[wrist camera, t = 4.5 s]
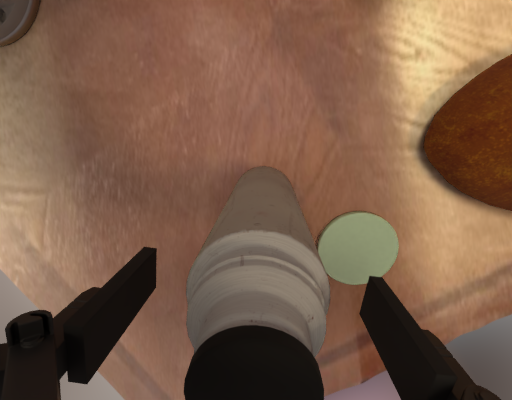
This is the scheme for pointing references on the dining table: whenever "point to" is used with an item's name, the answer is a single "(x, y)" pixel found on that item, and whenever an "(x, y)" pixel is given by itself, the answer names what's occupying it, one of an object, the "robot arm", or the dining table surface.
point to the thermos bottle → (257, 299)
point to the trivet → (357, 247)
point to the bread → (477, 137)
